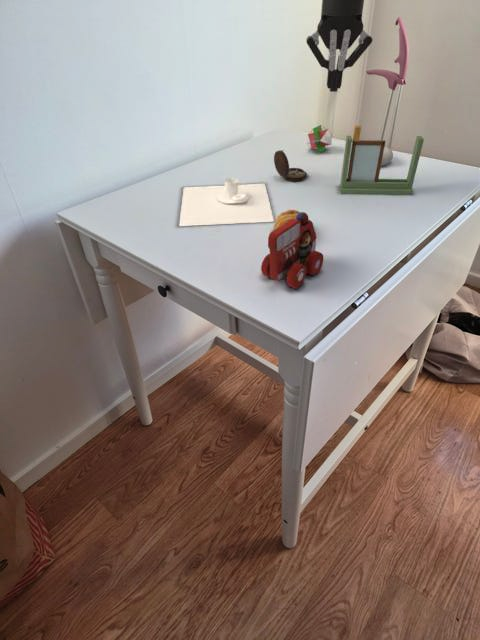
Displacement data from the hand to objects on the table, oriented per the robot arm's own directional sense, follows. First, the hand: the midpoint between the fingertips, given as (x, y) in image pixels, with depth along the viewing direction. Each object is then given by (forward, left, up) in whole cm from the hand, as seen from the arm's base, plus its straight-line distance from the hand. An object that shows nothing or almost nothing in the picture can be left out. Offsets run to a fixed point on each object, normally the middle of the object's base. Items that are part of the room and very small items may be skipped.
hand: (333, 90), depth 87 cm
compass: (+8, -8, -21) cm, 24 cm away
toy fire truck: (+7, +36, -21) cm, 42 cm away
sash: (-9, 0, -20) cm, 22 cm away
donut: (-14, -19, -21) cm, 32 cm away
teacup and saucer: (+22, +8, -21) cm, 32 cm away
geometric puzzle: (0, -27, -21) cm, 34 cm away
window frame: (-12, 0, -21) cm, 24 cm away
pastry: (+7, +22, -21) cm, 31 cm away
